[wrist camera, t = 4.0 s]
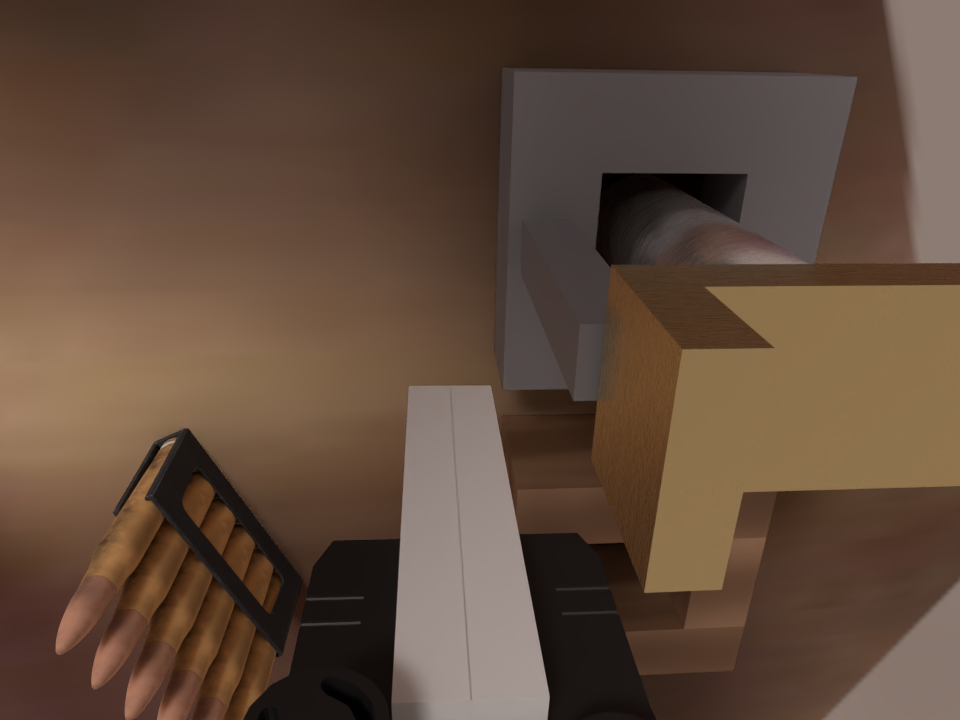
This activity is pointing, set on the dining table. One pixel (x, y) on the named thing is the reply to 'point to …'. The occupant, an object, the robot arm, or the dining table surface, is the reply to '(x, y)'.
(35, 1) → the dining table surface
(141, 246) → the dining table surface
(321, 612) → the robot arm
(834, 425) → the latch
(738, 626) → the frame
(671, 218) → the peg
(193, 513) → the ammunition clip
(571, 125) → the socket block
